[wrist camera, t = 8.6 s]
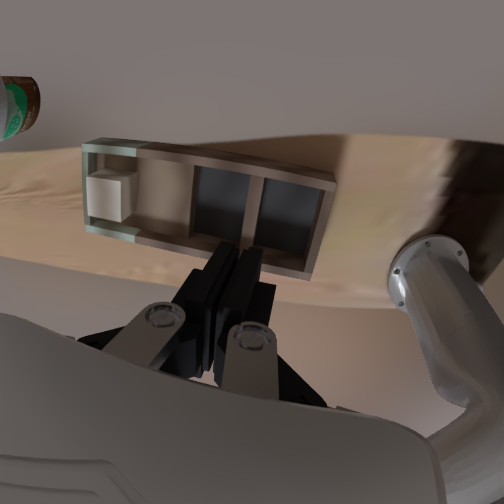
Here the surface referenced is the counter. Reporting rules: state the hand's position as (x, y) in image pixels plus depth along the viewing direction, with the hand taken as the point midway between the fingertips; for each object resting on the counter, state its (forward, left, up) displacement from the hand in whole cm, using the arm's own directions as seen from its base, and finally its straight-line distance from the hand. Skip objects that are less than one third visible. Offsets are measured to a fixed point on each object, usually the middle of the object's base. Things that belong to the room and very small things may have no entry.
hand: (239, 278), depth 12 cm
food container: (+39, -3, -26) cm, 47 cm away
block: (+19, +6, -23) cm, 31 cm away
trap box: (+9, +7, -26) cm, 28 cm away
